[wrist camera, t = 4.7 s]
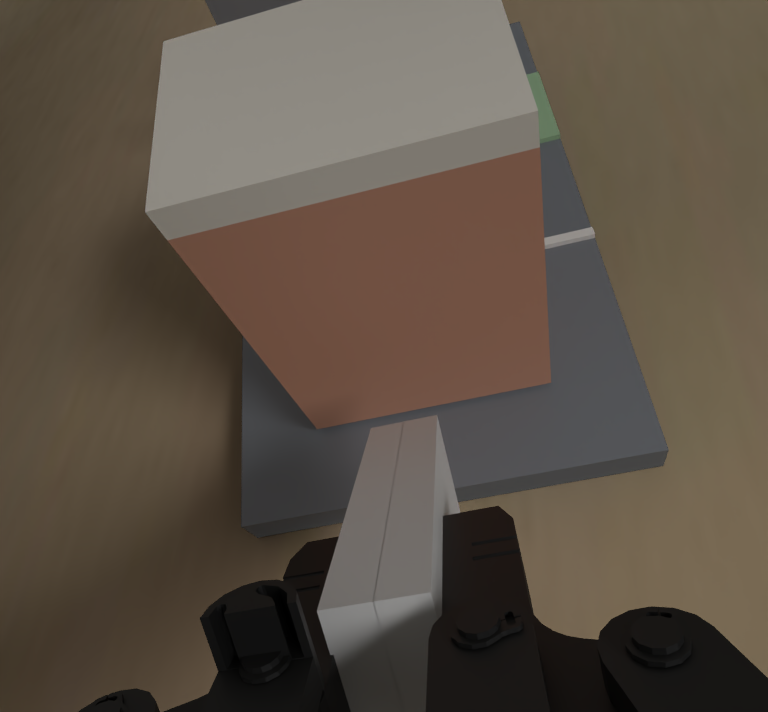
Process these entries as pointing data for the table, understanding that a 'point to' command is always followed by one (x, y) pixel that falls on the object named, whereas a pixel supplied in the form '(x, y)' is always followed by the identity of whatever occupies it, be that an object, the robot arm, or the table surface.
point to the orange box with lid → (361, 198)
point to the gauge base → (482, 414)
